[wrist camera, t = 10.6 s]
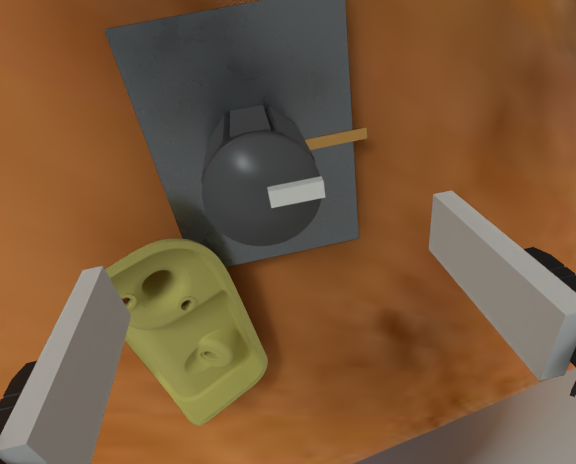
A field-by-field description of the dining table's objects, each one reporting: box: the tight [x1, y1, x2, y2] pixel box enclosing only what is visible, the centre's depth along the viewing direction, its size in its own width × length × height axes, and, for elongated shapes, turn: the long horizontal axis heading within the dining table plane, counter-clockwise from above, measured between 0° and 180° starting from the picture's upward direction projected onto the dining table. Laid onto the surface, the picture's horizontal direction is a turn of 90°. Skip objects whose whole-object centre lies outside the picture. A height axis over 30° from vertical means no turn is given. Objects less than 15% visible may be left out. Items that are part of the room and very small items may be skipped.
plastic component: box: [105, 238, 268, 425], centre depth 32 cm, size 20×7×10 cm
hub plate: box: [104, 0, 367, 267], centre depth 24 cm, size 18×15×6 cm
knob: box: [201, 105, 325, 246], centre depth 23 cm, size 7×7×7 cm
